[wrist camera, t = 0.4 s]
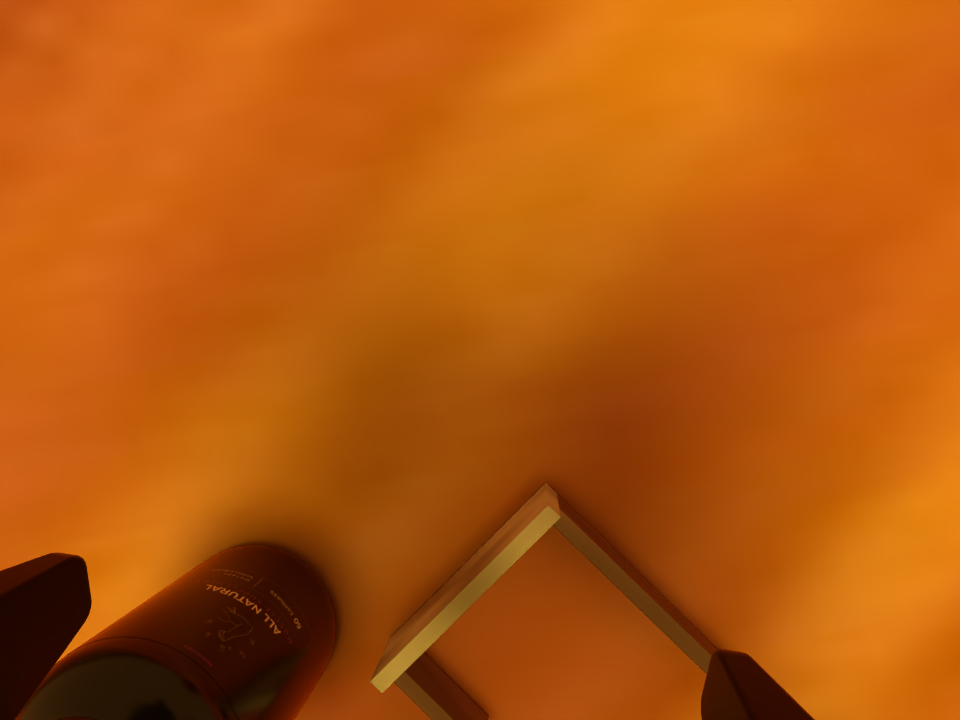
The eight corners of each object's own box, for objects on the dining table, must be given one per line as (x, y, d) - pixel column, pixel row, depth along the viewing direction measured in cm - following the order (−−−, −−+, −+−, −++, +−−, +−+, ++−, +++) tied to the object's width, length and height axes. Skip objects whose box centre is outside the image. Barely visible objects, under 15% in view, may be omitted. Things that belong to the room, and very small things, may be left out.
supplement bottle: (332, 534, 24) (139, 735, 12) (347, 694, 24) (173, 1045, 12) (175, 542, 25) (-157, 742, 13) (191, 698, 25) (-117, 1036, 13)
